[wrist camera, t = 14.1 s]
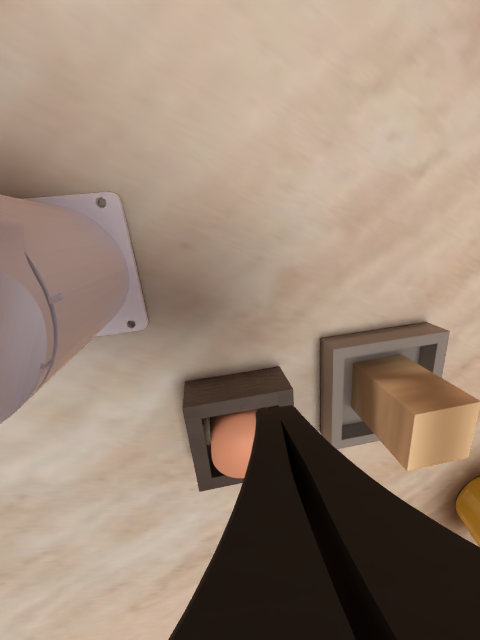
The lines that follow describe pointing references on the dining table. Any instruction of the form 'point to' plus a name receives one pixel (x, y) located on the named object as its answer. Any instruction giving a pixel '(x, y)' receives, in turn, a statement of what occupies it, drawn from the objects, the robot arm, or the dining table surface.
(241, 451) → the button
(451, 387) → the block
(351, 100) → the dining table surface
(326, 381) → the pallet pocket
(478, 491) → the plant pot
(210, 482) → the button housing
